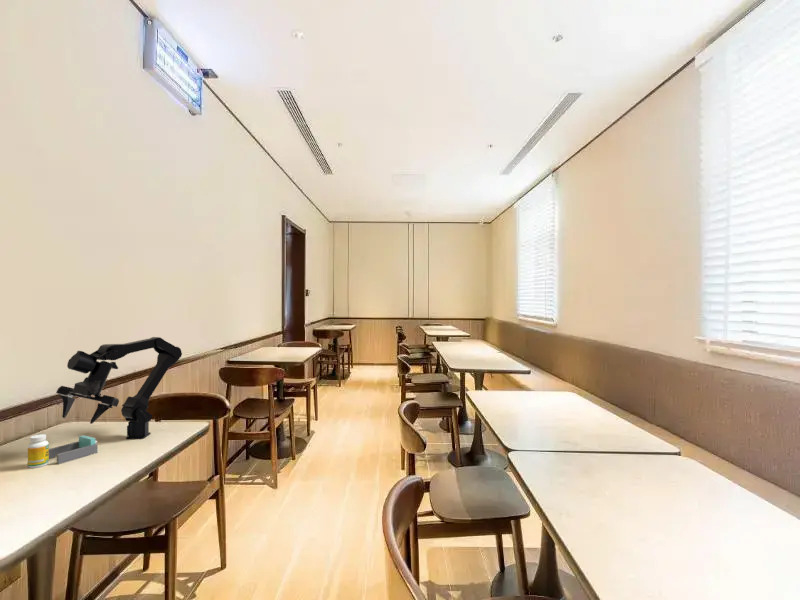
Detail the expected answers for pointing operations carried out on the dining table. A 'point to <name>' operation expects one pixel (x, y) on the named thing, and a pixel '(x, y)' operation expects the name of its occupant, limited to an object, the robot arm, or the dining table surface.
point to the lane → (74, 449)
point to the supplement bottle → (38, 451)
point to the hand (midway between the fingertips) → (77, 420)
